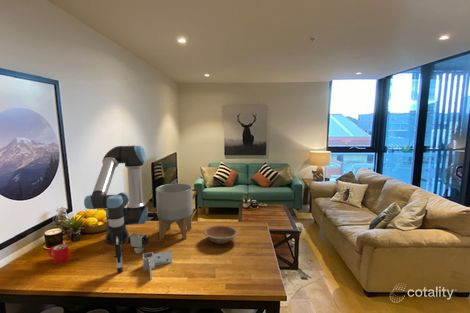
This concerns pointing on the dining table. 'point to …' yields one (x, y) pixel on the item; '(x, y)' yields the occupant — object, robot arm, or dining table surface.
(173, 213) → the planter
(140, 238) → the pneumatic valve
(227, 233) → the bowl
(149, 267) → the hinge leaves
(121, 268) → the pin
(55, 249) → the mug
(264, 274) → the dining table surface
